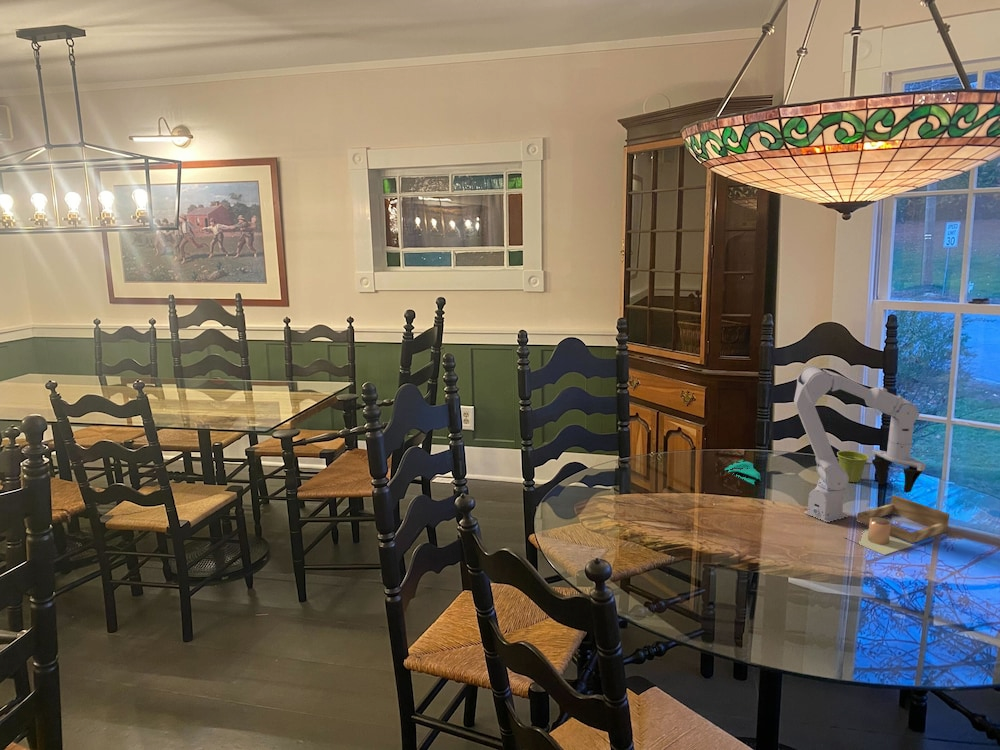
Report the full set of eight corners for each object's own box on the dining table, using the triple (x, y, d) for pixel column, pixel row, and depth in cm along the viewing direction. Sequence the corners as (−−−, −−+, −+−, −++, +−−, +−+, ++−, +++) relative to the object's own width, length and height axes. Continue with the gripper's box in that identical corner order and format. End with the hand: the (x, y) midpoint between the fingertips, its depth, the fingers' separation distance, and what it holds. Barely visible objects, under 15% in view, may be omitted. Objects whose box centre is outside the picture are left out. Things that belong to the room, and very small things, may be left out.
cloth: (726, 459, 254) (727, 453, 254) (766, 464, 249) (767, 458, 248) (720, 483, 230) (720, 476, 230) (764, 488, 225) (765, 482, 225)
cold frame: (911, 543, 184) (914, 525, 183) (856, 521, 198) (858, 505, 197) (947, 531, 191) (949, 514, 190) (891, 511, 205) (893, 495, 204)
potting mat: (884, 555, 177) (884, 554, 177) (842, 537, 188) (842, 536, 187) (913, 545, 183) (913, 544, 183) (870, 528, 193) (870, 528, 193)
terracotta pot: (882, 546, 182) (884, 526, 181) (863, 539, 186) (865, 519, 185) (892, 541, 184) (895, 522, 183) (874, 534, 188) (876, 515, 187)
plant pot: (859, 475, 235) (861, 451, 233) (870, 485, 226) (873, 460, 224) (830, 474, 236) (832, 450, 234) (840, 484, 227) (843, 459, 225)
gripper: (934, 446, 191) (928, 493, 193) (884, 433, 203) (879, 477, 206) (918, 450, 188) (912, 497, 190) (869, 436, 200) (864, 481, 203)
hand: (894, 487), depth 198 cm, fingers open, 7 cm apart
